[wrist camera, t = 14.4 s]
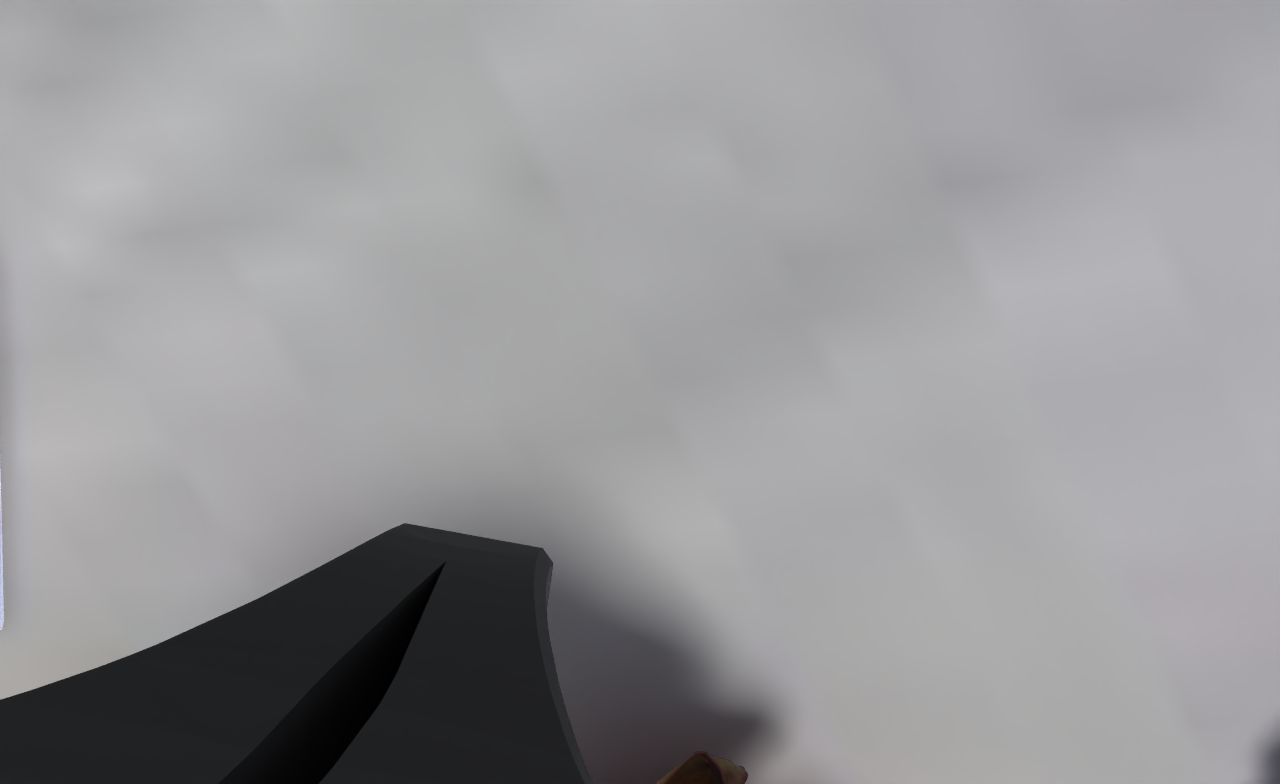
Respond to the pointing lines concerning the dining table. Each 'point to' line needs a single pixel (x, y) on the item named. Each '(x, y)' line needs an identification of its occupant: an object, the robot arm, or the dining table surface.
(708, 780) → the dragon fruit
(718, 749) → the dining table surface
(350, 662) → the robot arm
